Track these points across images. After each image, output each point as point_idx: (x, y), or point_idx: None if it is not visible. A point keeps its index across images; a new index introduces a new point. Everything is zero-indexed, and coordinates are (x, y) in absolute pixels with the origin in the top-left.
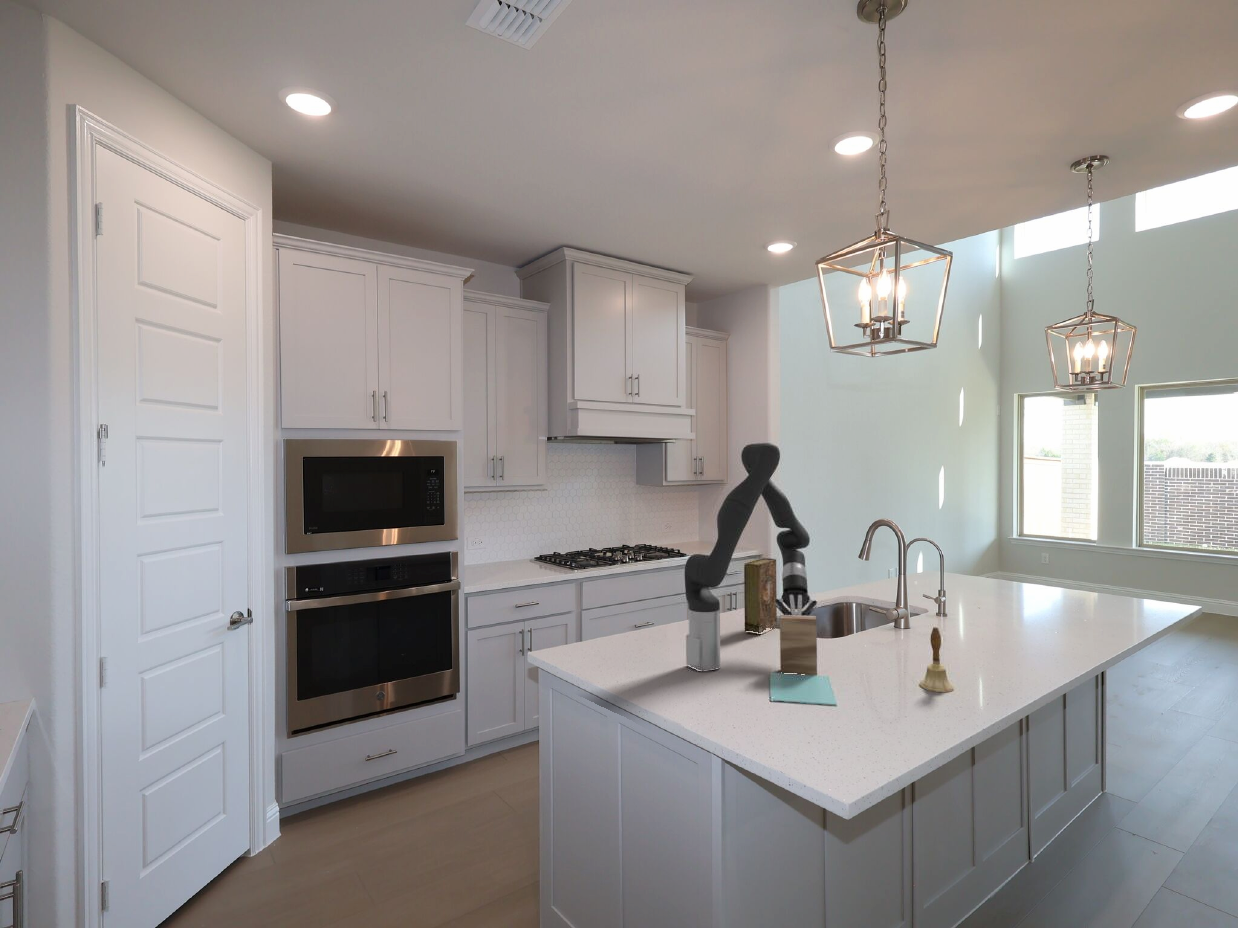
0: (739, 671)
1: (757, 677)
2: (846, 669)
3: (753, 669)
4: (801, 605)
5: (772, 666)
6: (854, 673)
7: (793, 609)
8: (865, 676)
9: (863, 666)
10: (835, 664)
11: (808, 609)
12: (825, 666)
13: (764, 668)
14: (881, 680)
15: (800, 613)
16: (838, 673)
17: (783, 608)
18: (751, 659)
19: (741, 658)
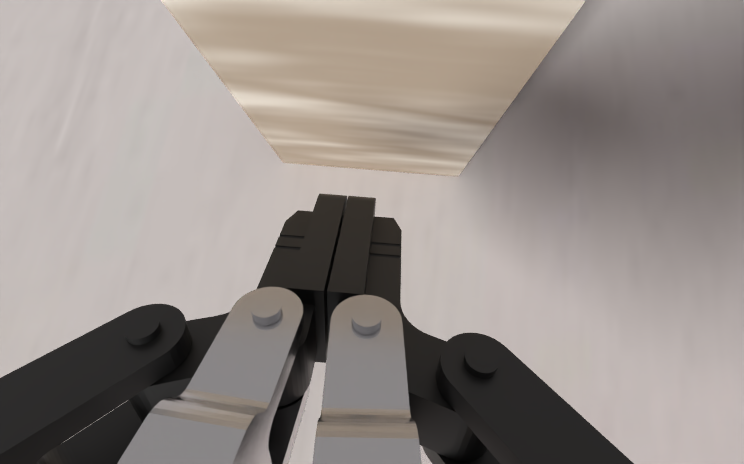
0: (665, 121)
1: (575, 43)
2: (122, 210)
3: (595, 160)
4: (128, 457)
5: (496, 221)
6: (102, 150)
7: (356, 404)
8: (65, 111)
9: (18, 271)
10: (155, 292)
11: (38, 382)
12: (217, 250)
13: (539, 183)
14: (12, 63)
15: (246, 314)
16: (180, 142)
17: (576, 440)
18: (609, 341)
19: (668, 355)
